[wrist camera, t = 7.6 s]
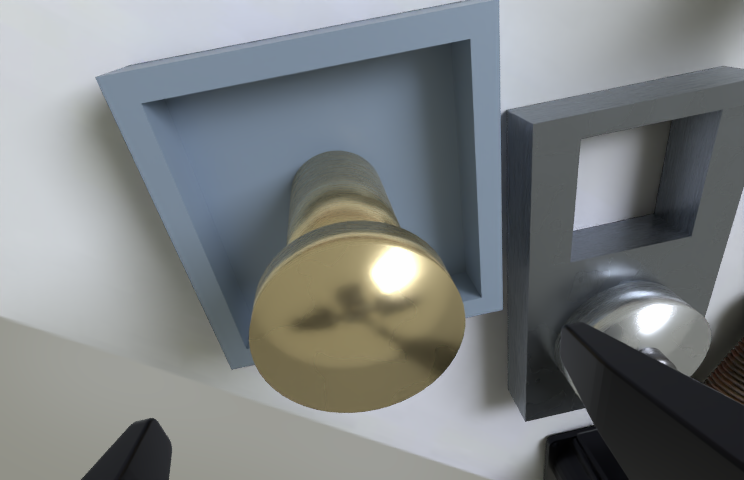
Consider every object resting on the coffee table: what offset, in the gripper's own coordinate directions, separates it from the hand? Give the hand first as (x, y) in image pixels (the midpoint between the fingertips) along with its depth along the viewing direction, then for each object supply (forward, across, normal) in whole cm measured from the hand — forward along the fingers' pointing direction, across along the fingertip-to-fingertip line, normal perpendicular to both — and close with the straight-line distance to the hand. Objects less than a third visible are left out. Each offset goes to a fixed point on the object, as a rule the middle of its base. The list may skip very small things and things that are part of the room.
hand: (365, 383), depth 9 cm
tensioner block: (+12, -13, +7) cm, 19 cm away
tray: (+12, 0, 0) cm, 12 cm away
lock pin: (+11, 0, 0) cm, 11 cm away
